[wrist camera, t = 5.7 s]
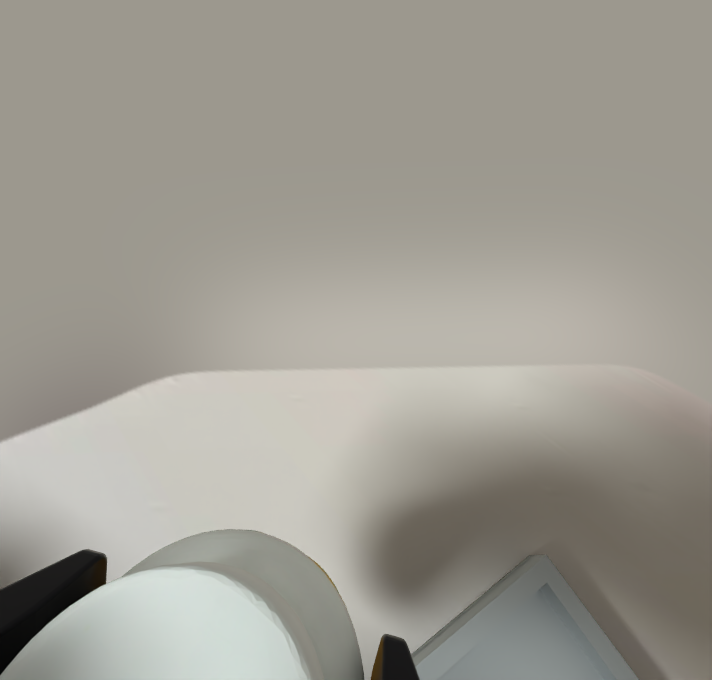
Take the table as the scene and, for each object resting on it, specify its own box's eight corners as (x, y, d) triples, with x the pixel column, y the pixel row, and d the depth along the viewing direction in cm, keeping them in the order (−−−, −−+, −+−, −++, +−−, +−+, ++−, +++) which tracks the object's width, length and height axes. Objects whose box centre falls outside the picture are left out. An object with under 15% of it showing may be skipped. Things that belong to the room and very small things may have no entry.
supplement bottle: (226, 820, 10) (-203, 1839, 2) (148, 621, 12) (-222, 724, 4) (384, 663, 12) (496, 864, 4) (293, 513, 14) (240, 433, 6)
